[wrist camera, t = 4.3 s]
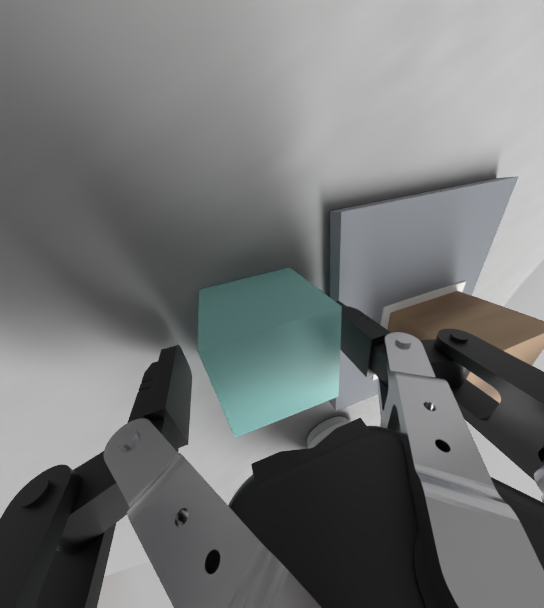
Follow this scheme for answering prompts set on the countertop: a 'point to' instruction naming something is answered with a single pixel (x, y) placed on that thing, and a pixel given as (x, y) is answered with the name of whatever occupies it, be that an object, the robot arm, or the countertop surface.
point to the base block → (473, 327)
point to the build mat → (409, 256)
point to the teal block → (269, 347)
